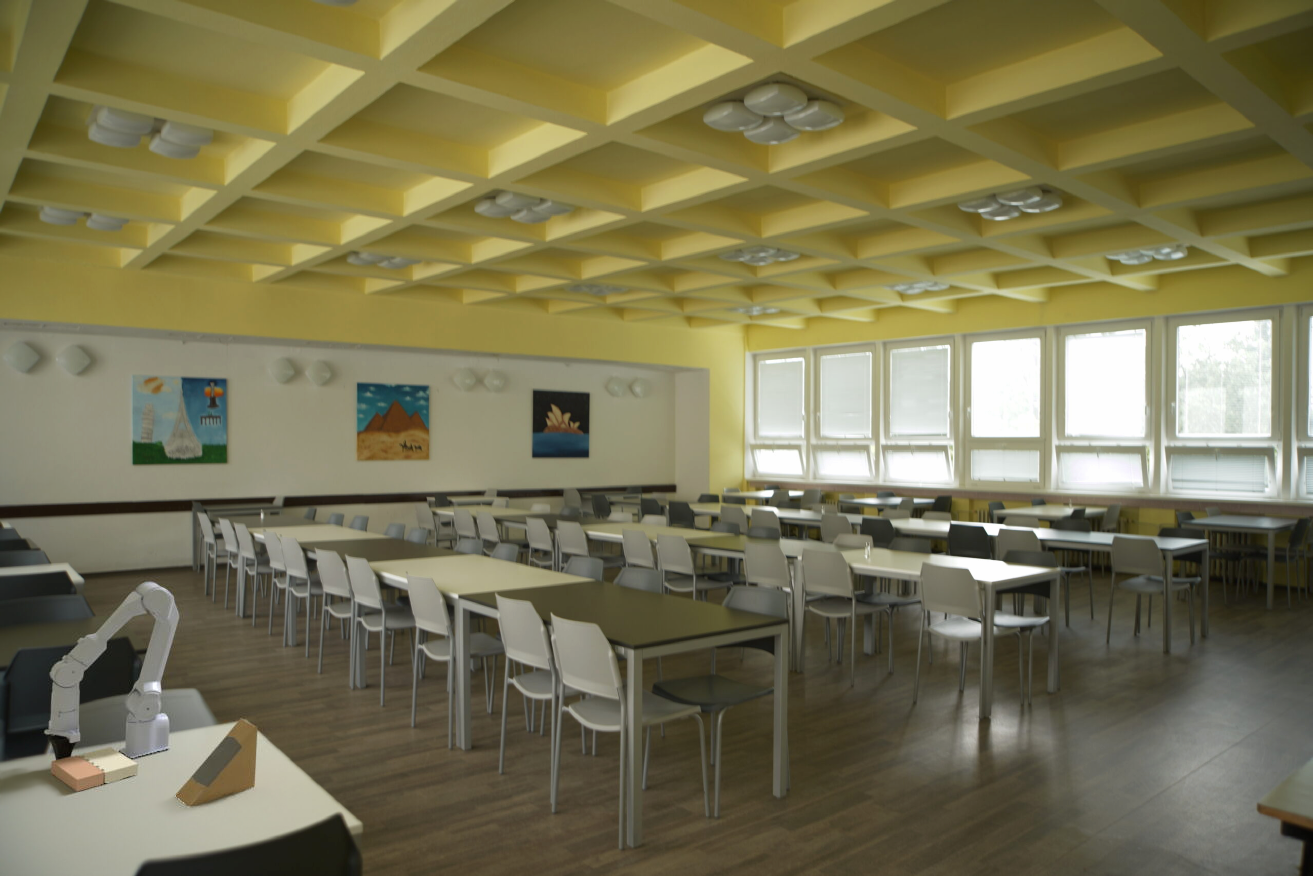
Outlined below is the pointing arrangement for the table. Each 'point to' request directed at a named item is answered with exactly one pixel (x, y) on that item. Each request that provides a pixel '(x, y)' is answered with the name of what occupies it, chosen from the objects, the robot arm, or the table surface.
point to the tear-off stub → (77, 773)
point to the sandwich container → (224, 767)
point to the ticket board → (111, 764)
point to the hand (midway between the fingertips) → (62, 763)
